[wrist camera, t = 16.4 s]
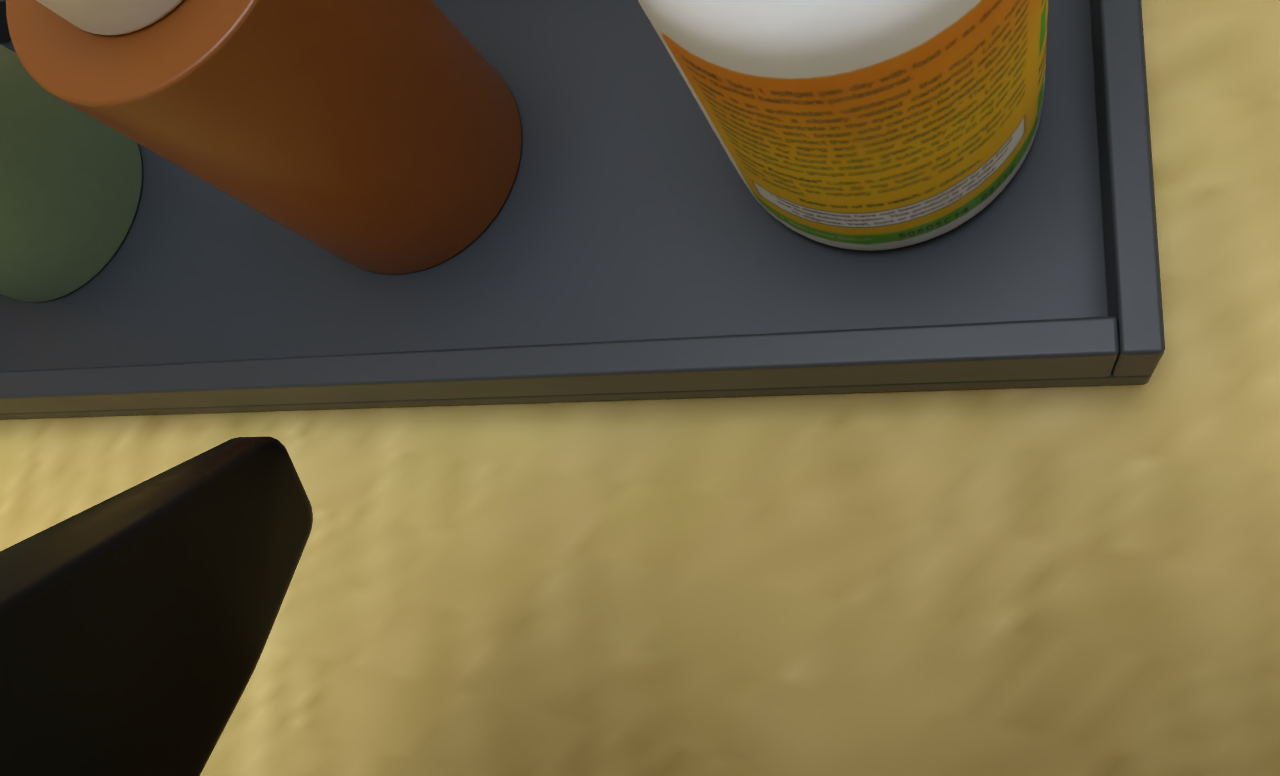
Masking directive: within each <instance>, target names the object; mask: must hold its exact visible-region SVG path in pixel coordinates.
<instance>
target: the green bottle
mask: <svg viewBox="0 0 1280 776" xmlns="http://www.w3.org/2000/svg"><path fill="white" fill-rule="evenodd" d="M142 174H143V171H142V159H141V154H140V149H139V146H138V143H137V142H135V141H133V140H131V139H129V138H128V137H126V136H124V135H122V134H121V133H119V132H117V131H115V130H114V129H112V128H110V127H108V126H106V125H105V124H103V123H101V122H99V121H98V120H96V119H94V118H92V117H91V116H89V115H87V114H85V113H84V112H82V111H80V110H78V109H76V108H75V107H73V106H71V105H69V104H68V103H66V102H64V101H62V100H61V99H59V98H57V97H56V96H54V95H52V94H51V93H49V92H47V91H46V90H44V89H43V88H42V87H41V86H40V85H39V84H38V83H37V82H36V81H35V80H34V79H33V78H32V77H31V76H30V74H29V73H28V72H27V70H26V69H25V68H24V66H23V65H22V63H21V61H20V59H19V57H18V55H17V54H16V53H15V52H13V51H11V50H9V49H8V48H6V47H4V46H3V45H1V44H0V294H1V295H4V296H7V297H9V298H12V299H16V300H19V301H24V302H44V301H49V300H53V299H57V298H60V297H62V296H65V295H68V294H70V293H71V292H73V291H75V290H77V289H79V288H80V287H82V286H83V285H85V284H86V283H87V282H89V281H90V280H91V279H92V278H93V277H95V276H96V275H97V274H98V273H99V272H100V271H101V270H102V269H103V268H104V267H105V266H106V265H107V264H108V262H109V261H110V260H111V259H112V257H113V256H114V255H115V253H116V252H117V251H118V249H119V247H120V246H121V244H122V243H123V241H124V239H125V238H126V235H127V233H128V231H129V229H130V227H131V225H132V223H133V220H134V217H135V214H136V212H137V208H138V204H139V200H140V195H141V189H142Z"/></svg>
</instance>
